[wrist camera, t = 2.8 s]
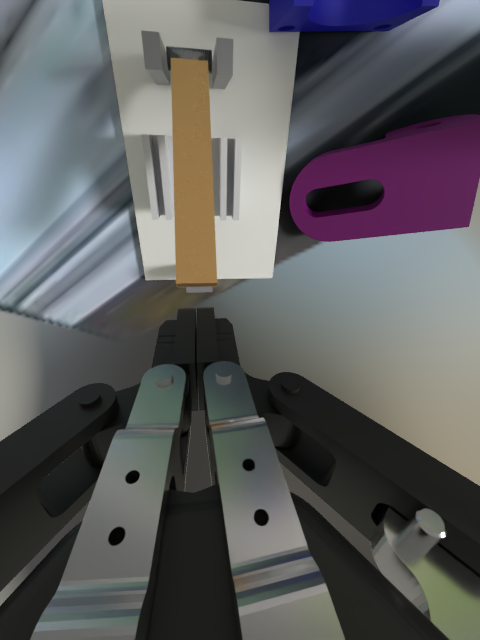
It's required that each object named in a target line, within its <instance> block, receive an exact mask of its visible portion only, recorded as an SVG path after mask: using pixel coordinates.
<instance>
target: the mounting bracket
mask: <svg viewBox="0 0 480 640" xmlns="http://www.w3.org/2000/svg"><path fill="white" fill-rule="evenodd" d="M479 178H480V115H476V114H466V115H457V116H450V117H444V118H439V119H434V120H429V121H425V122H421V123H417V124H413V125H410V126H406V127H403V128H399V129H396V130H393V131H391V132H388V133H387V134H385V138H384V139H381V140H377V141H373V142H368V143H364V144H359V145H355V146H351V147H346V148H342V149H337V150H333V151H329V152H325V153H323V154H320V155H319V156H317V157H315V158H314V159H312V160H311V161H310V162H309V163H308V164H307V165H306V166H305V167H304V168H303V169H302V170H301V172H300V173H299V175H298V176H297V178H296V180H295V182H294V184H293V186H292V189H291V193H290V201H289V203H290V212H291V215H292V218H293V220H294V222H295V224H296V225H297V227H298V228H299V229H300V230H301V231H302V232H303V233H304V234H306V235H307V236H309V237H311V238H313V239H316V240H319V241H328V242H330V241H340V240H350V239H360V238H369V237H378V236H388V235H397V234H405V233H416V232H425V231H434V230H444V229H453V228H462V227H469V223H470V219H471V214H472V210H473V206H474V201H475V197H476V192H477V187H478V182H479ZM369 179H374V180H377V181H379V182H380V183H381V184H382V185H383V192H382V194H381V196H380V198H379V199H378V200H377V201H375V202H374V203H372V204H369V205H364V206H357V207H350V208H343V209H337V210H330V211H323V212H314V211H312V210H311V209H309V207H308V206H307V204H306V195H307V194H308V193H309V192H310V191H312V190H314V189H319V188H324V187H330V186H335V185H341V184H346V183H352V182H358V181H363V180H369Z"/></svg>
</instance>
